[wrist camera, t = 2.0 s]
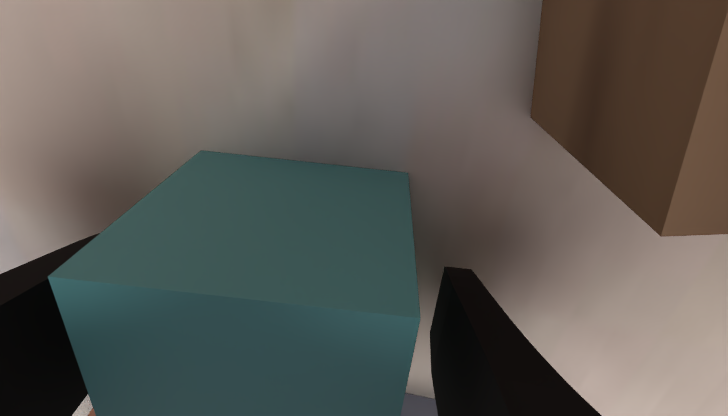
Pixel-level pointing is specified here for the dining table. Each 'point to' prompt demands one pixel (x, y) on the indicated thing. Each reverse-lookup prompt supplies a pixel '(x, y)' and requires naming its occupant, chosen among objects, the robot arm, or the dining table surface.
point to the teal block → (249, 293)
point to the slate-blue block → (418, 406)
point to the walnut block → (642, 103)
